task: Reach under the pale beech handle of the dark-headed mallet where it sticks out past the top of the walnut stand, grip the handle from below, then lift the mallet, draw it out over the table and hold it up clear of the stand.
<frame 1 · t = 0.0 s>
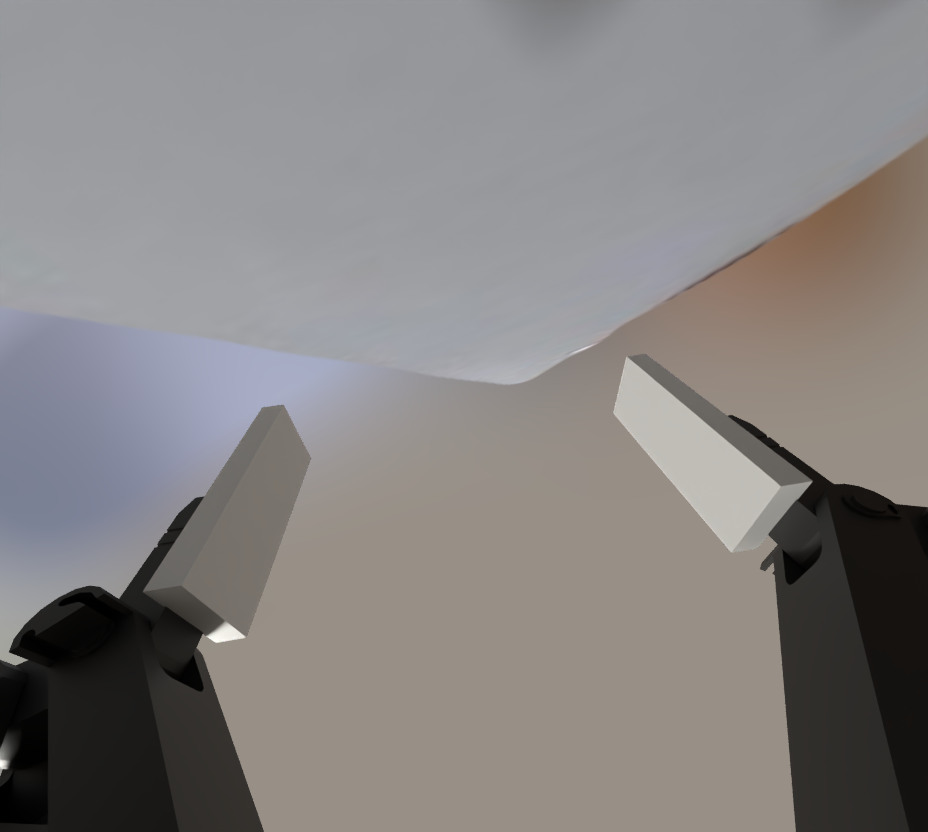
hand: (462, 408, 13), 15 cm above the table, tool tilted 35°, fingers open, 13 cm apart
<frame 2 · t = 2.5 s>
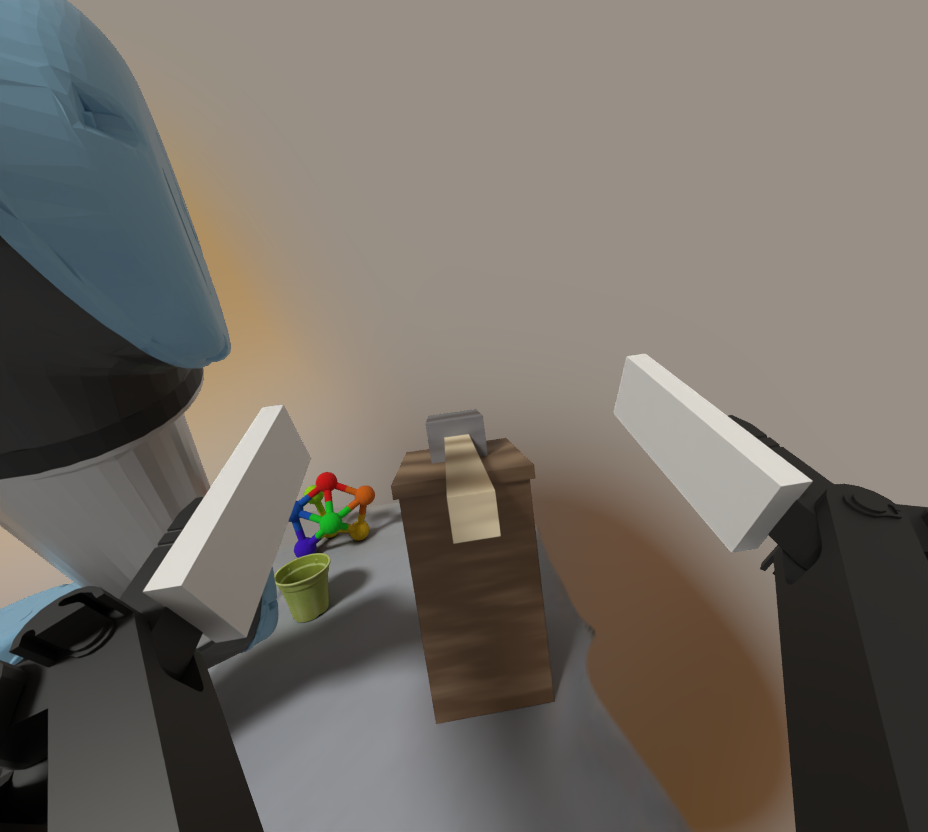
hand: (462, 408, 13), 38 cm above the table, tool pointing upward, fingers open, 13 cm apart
stand: (487, 660, 45), on the table
mallet: (458, 452, 44), point 29 cm above the table, touching stand
molecular model: (335, 548, 83), on the table
plant pot: (312, 611, 60), on the table
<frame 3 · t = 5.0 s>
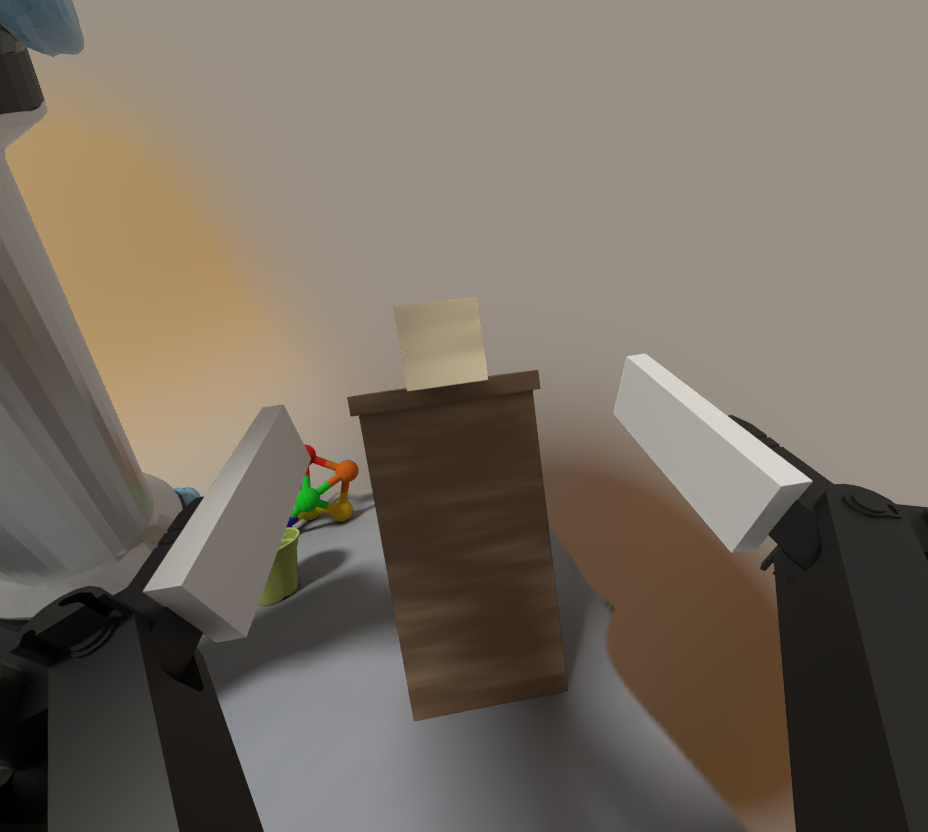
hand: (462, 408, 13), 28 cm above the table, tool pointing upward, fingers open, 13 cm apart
stand: (482, 643, 36), on the table
mallet: (443, 382, 36), point 29 cm above the table, touching stand
molecular model: (314, 530, 74), on the table
plant pot: (277, 594, 51), on the table
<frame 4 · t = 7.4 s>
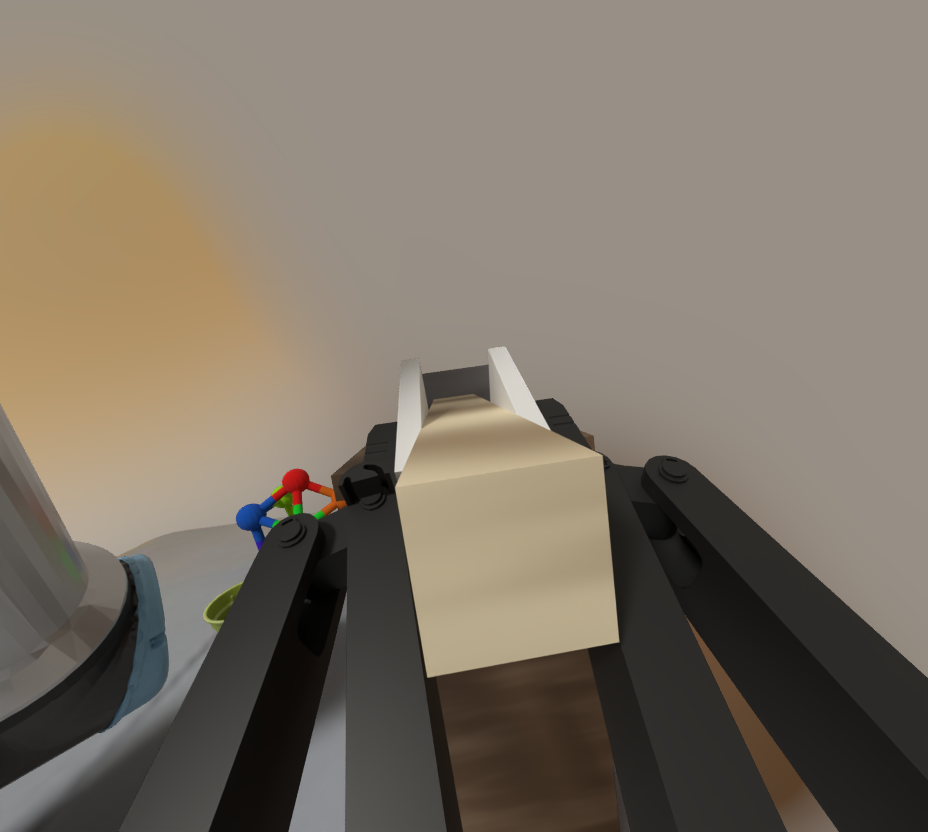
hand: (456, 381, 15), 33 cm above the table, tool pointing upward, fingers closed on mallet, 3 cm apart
stand: (503, 748, 29), on the table
mallet: (456, 427, 29), point 29 cm above the table, touching gripper, stand
molecular model: (308, 562, 68), on the table
plant pot: (261, 654, 45), on the table
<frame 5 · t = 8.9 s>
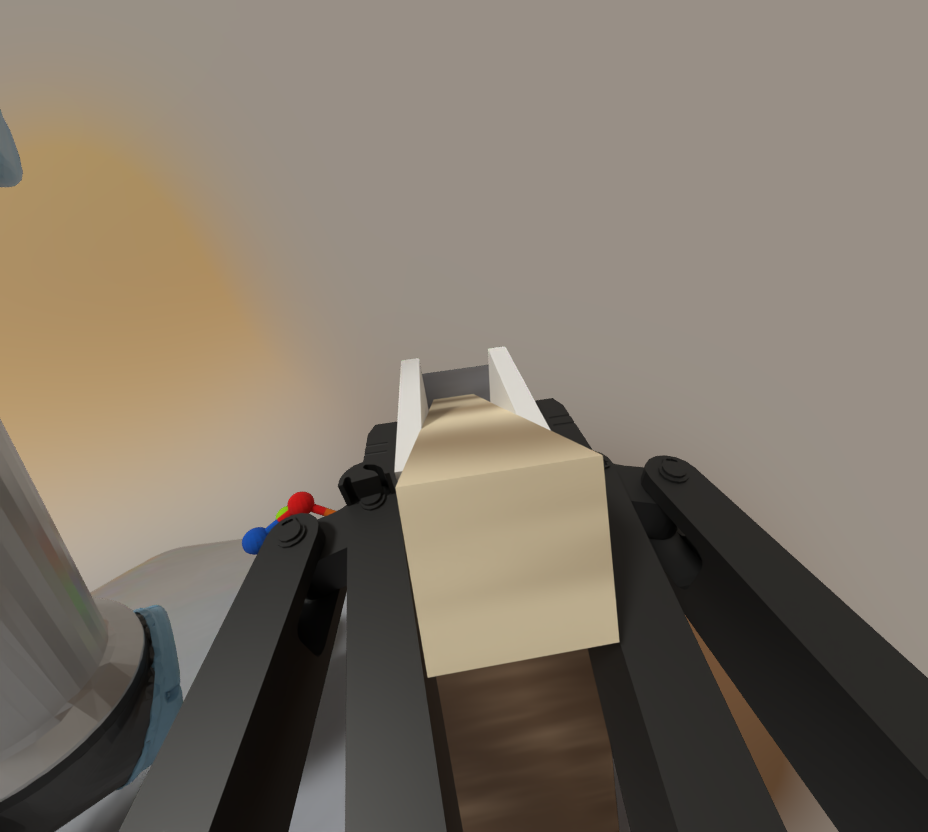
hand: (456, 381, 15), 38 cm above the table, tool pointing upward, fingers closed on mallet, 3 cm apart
stand: (509, 794, 30), on the table
mallet: (456, 427, 29), point 34 cm above the table, touching gripper
molecular model: (312, 584, 68), on the table
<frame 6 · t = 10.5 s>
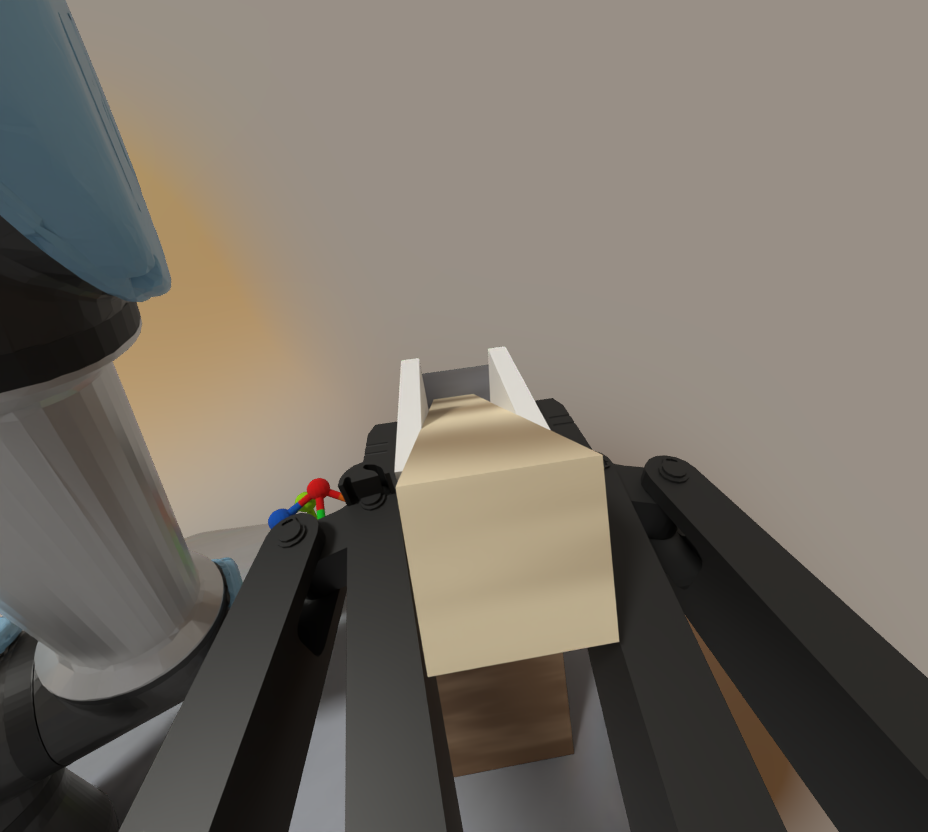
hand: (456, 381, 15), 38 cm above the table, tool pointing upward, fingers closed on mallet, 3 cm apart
stand: (494, 698, 39), on the table
mallet: (456, 427, 29), point 34 cm above the table, touching gripper
molecular model: (328, 559, 78), on the table
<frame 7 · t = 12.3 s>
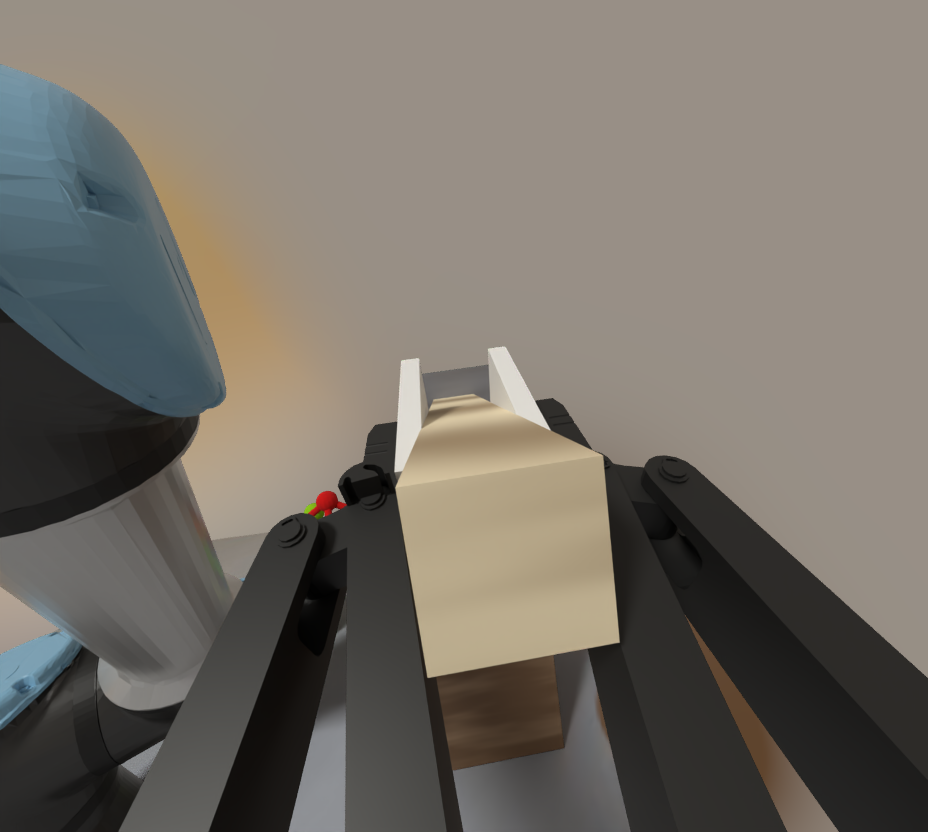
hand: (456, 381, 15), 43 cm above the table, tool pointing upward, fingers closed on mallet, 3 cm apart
stand: (493, 699, 43), on the table
mallet: (456, 427, 29), point 38 cm above the table, touching gripper
molecular model: (336, 568, 82), on the table
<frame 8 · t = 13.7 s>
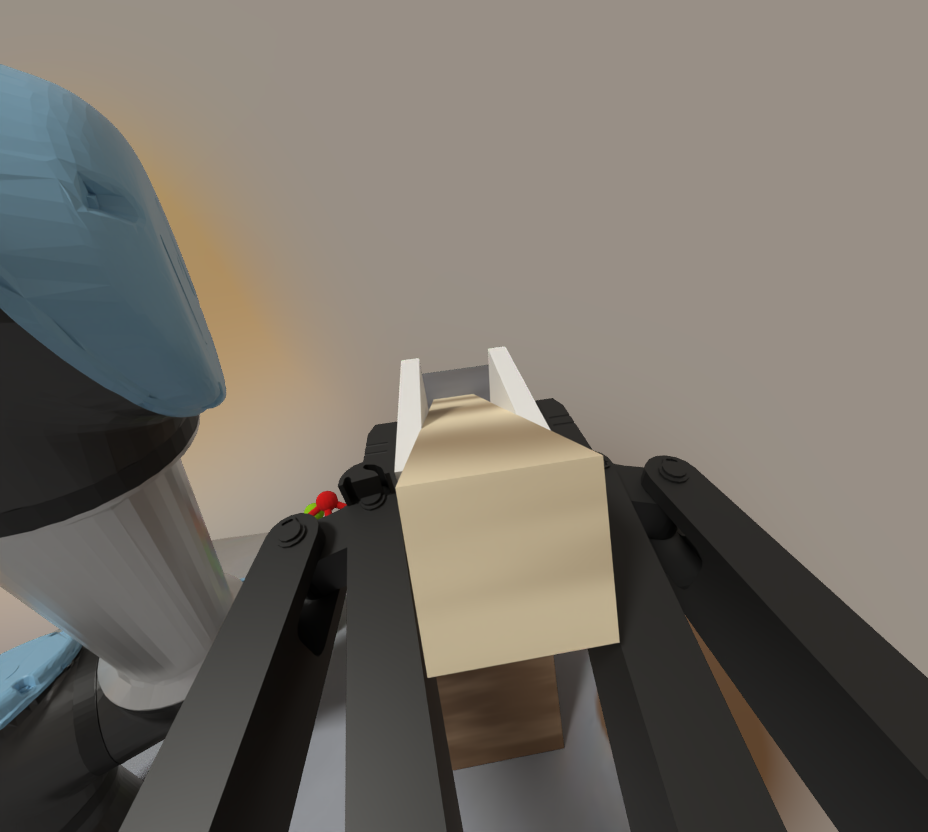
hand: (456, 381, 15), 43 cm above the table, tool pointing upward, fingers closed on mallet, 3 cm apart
stand: (493, 699, 43), on the table
mallet: (456, 427, 29), point 38 cm above the table, touching gripper
molecular model: (336, 568, 82), on the table
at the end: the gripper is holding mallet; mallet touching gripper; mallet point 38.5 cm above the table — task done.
